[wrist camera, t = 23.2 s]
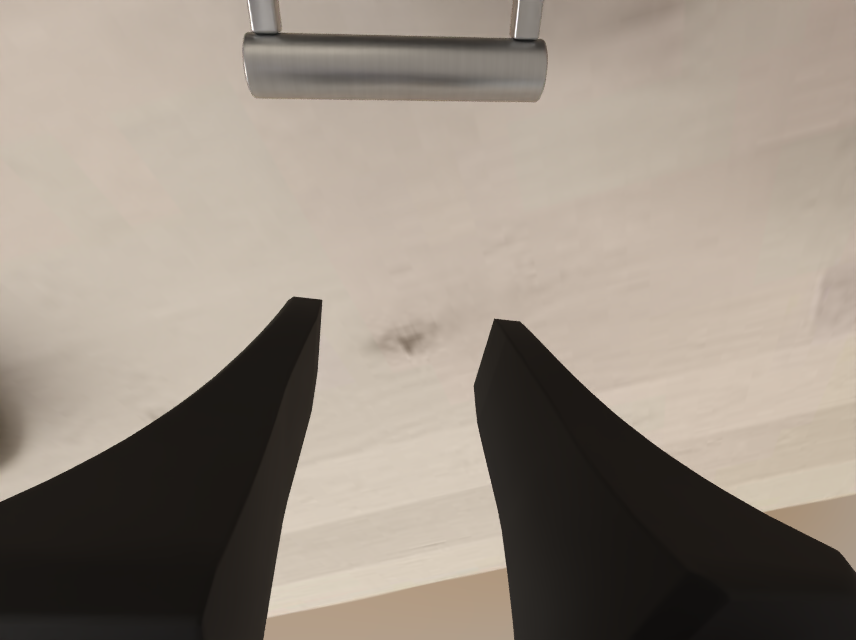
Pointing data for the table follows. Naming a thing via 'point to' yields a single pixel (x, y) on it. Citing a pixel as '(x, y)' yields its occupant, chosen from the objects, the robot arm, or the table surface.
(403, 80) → the pull-out tray box
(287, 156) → the table surface
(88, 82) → the table surface
